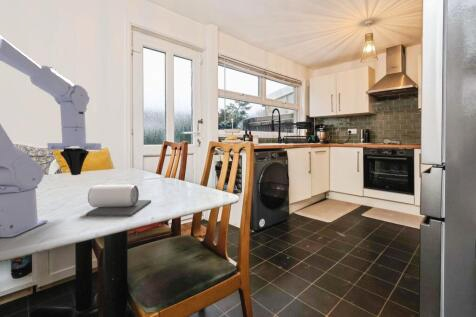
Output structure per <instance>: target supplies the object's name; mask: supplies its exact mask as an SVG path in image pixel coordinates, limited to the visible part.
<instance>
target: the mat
mask: <svg viewBox="0 0 476 317" xmlns="http://www.w3.org/2000/svg"><path fill="white" fill-rule="evenodd" d="M150 203H152V200H151V199H138V202H137V204H136V205H132V206H128V207H96V208H94V209H93V210H91V211H88V212H86V216H87V217H88V216H89V217H90V216H91V217H92V216H94V217H97V216H98V217H100V216H101V217H103V216H104V217H132V216H134V215H135V214H136V213H137V212H139V211H141V210H142V209H144V208H145V207H147V205H149V204H150Z"/></svg>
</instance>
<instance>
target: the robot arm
mask: <svg viewBox="0 0 476 317" xmlns="http://www.w3.org/2000/svg"><path fill="white" fill-rule="evenodd" d="M0 61H1V62H3V63H5V64H6V65H8V66H9V67H11V68H13V69H15V70H18V71H19V72H21V73H22V74H25V75H26V76H28V77H29V78H30V81H31V84H32V85H34V86H35V87H37V88H38V89H40V90H42V91H43V92H45V93H47V94H48V95H50V96H52V97H53V99H54V101H55V102H56V103H57V104H58V105H59V107H60V109H59V110H60V125H61V128H60V129H61V141H62V142H47V144H46V145H47V150H48V151H50V150H51V151H52V150H53V151H56V150H58V151H59V150H60V154H59V155H60V156H62V157H63V159H64V161H65V162H66V164H67V168H68V170H69V172H70V175H71V176H78V175H81V174H82V170H83V166H84V162H85V160H86V158H87V157H88V155H89V154H90V153H89V152H90V151H101V150H102V143H101V142H97V143H95V142H93V143H92V142H89V143H88V142H87V134H86V133H87V131H86V130H87V129H86V112H87V109H88V108H87V106H88V105H89V102H90V96H89V95H88V92H87V90H86V88H84V87H82V86H81V85H79V84H74V83H72V82H71V80H70V79H67V78H65V77H64V76H62V75H61V74H59V73H58V72H57V70H56V69H55V68H54V66H48V65H39V64H38V63H36V62H35V61H34V60H32V59H31V58H30V57H29V56H27V55H26V54H25V53H23V51H21V50H20V49H19V48H17V47H16V46H14V44H12V43H11V42H10V41H8V40H7V39H5V37H3V36H2V35H1V34H0ZM43 178H44V169H43V167H42V166H41V164H40V163H39V162H37V161H36V160H34V159H32V157H31V155H30V154H29V153H28V152H27V151H25V150H23V149H21V148H19V147H18V146H16V145H15V144H14V143H13V141H12V140H11V138H10V137H9V135H8V133H7V132H6V130H5V129H4V127H3V126H2V124H1V123H0V238H12V237H16V236H17V235H20V234H22V233H25V232H27V231H29V230H31V229H34V228H36V227H39V226H41V225H44V224H46V223H48V219H38V207H37V206H38V205H37V189H38V186H39V184H40V183H41V182H42V180H43Z"/></svg>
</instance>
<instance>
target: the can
mask: <svg viewBox="0 0 476 317" xmlns="http://www.w3.org/2000/svg"><path fill="white" fill-rule="evenodd" d="M139 194H140V192H139V188H138V186H137V185H133V184H129V183H127V184H96V185H95V184H94V185H93V186H92V187H90V188H89V190H88V193H87V202H88V204H89V206H91V207H92V208H99V207H128V206H132V205H136V204H137V202H138V200H139V196H140V195H139Z"/></svg>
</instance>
